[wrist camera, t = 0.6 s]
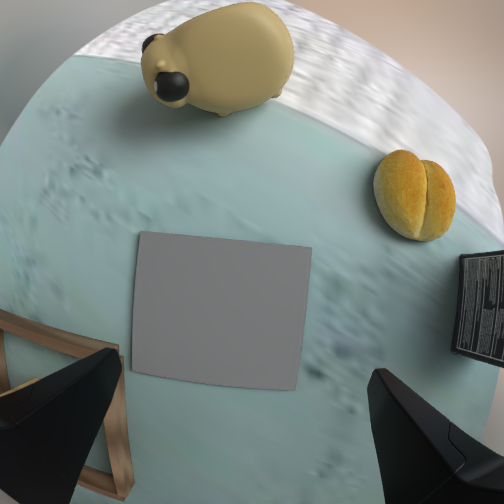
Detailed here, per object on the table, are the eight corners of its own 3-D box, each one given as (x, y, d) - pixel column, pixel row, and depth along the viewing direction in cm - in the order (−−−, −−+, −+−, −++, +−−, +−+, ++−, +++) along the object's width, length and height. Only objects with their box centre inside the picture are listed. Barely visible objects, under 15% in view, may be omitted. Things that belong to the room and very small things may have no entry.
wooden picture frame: (135, 487, 21) (127, 503, 18) (17, 436, 20) (6, 444, 17) (123, 345, 22) (109, 354, 19) (-3, 308, 21) (-20, 309, 18)
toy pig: (153, 77, 24) (123, 5, 13) (264, 48, 24) (272, -28, 14) (172, 154, 23) (131, 83, 13) (299, 118, 24) (329, 39, 13)
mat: (294, 388, 22) (295, 390, 22) (133, 369, 22) (132, 370, 21) (310, 248, 23) (311, 247, 22) (142, 231, 23) (140, 230, 22)
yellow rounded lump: (372, 146, 24) (391, 128, 20) (442, 175, 24) (465, 164, 20) (363, 228, 23) (384, 220, 19) (438, 251, 24) (464, 248, 20)
